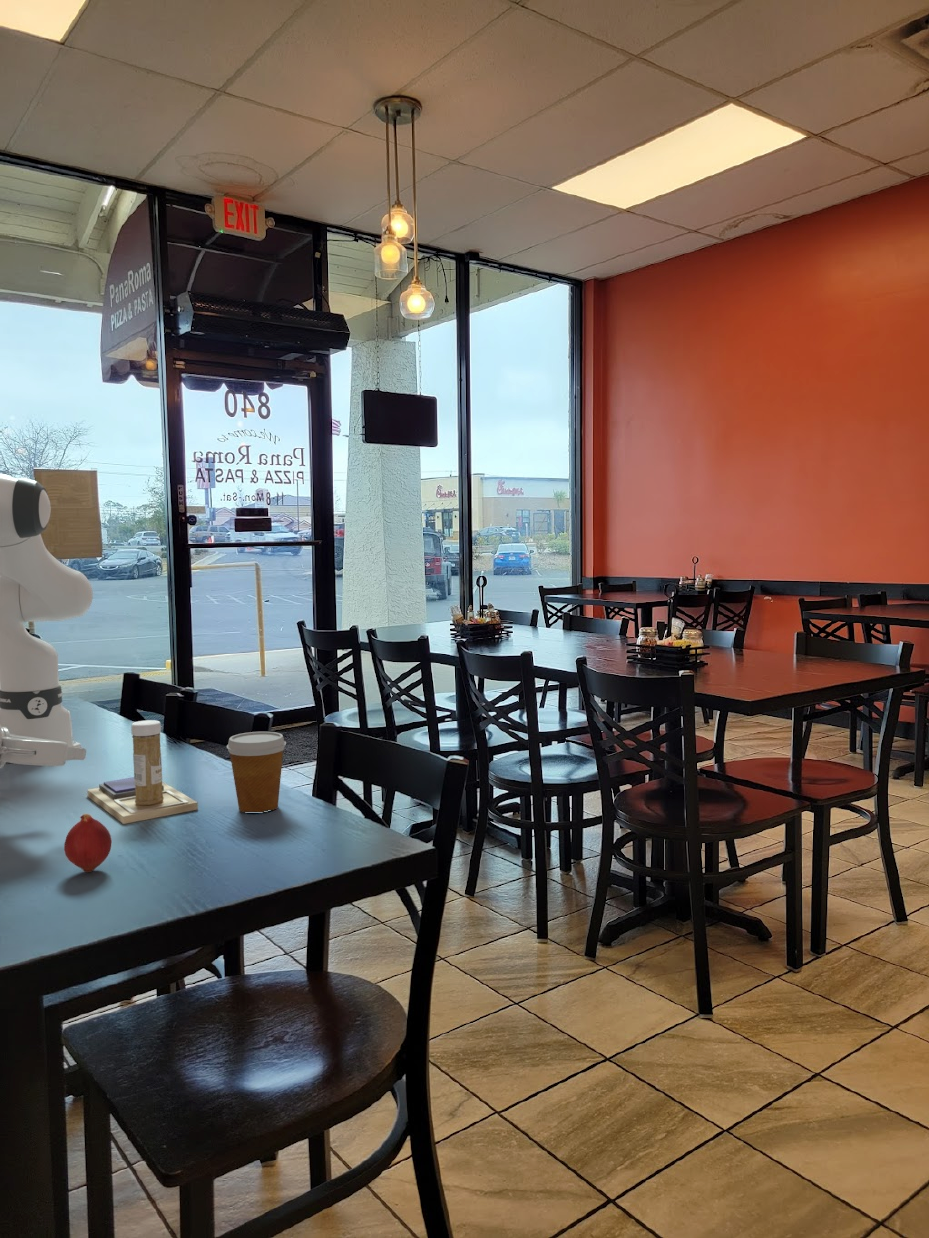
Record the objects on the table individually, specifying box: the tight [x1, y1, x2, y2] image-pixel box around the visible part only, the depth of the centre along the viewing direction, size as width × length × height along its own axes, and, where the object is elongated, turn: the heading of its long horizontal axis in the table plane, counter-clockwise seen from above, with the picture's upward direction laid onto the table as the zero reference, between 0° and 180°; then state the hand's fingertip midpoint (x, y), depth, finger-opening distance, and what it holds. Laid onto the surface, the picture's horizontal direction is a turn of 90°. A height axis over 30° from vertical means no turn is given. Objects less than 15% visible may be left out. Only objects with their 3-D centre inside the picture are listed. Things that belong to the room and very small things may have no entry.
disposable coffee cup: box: [226, 731, 287, 813], centre depth 147 cm, size 10×10×12 cm
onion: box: [63, 813, 113, 873], centre depth 120 cm, size 6×6×8 cm
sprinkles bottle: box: [130, 719, 164, 805], centre depth 147 cm, size 5×5×13 cm
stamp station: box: [86, 776, 199, 825], centre depth 152 cm, size 20×12×2 cm, turn 38°
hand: (70, 751), depth 143 cm, fingers open, 8 cm apart
